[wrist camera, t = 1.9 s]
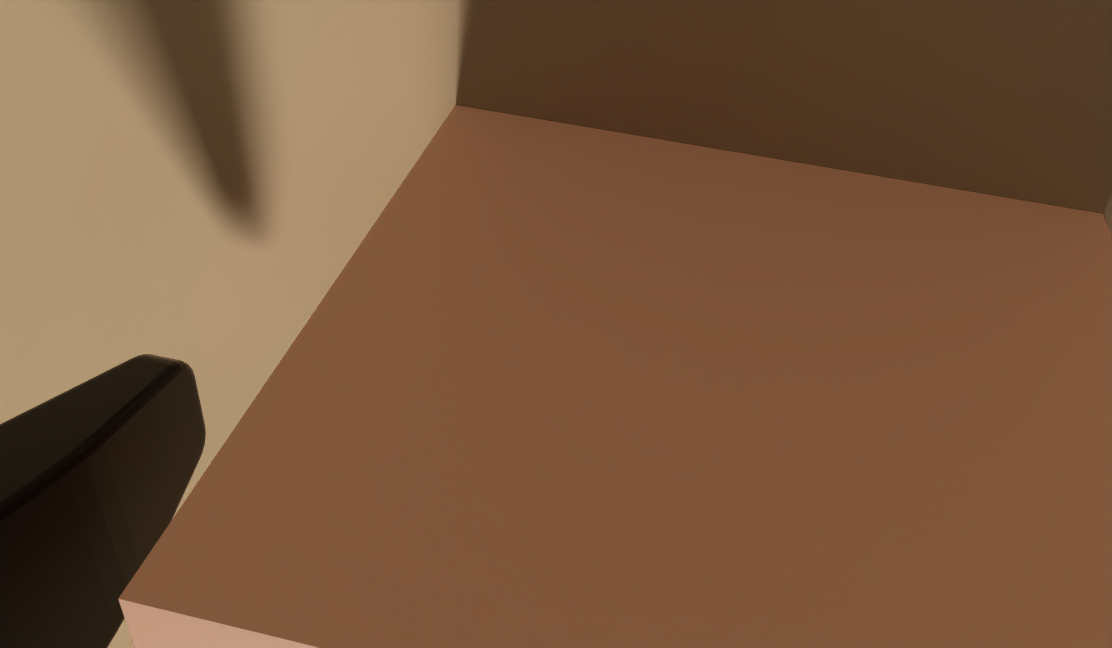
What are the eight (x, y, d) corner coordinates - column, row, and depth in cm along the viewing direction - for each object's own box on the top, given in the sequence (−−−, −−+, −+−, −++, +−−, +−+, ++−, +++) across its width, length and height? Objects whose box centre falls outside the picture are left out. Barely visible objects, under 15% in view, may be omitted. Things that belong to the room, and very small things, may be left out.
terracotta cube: (909, 611, 11) (949, 1217, 7) (454, 510, 11) (255, 1010, 7) (1100, 207, 8) (1371, 902, 4) (458, 102, 8) (118, 598, 4)
